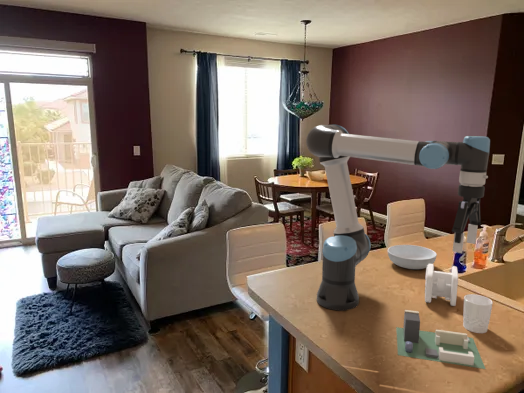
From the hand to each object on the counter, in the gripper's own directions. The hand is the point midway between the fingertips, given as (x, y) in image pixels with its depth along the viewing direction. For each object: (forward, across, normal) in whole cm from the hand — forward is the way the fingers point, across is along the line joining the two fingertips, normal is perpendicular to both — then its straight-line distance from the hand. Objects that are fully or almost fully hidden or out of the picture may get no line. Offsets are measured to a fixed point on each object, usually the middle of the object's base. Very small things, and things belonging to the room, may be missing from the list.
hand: (464, 247), depth 132 cm
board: (+24, -27, -3) cm, 36 cm away
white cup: (+24, -7, -8) cm, 26 cm away
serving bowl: (+24, +33, +31) cm, 52 cm away
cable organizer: (+24, +7, +8) cm, 26 cm away
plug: (+23, -27, +4) cm, 36 cm away
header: (+23, -27, -8) cm, 36 cm away
